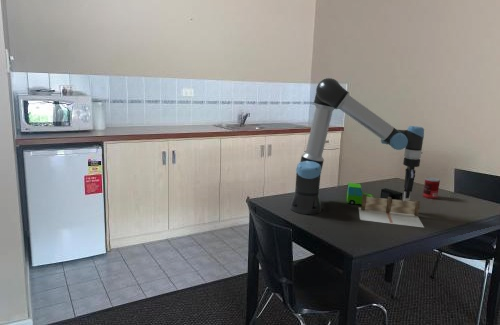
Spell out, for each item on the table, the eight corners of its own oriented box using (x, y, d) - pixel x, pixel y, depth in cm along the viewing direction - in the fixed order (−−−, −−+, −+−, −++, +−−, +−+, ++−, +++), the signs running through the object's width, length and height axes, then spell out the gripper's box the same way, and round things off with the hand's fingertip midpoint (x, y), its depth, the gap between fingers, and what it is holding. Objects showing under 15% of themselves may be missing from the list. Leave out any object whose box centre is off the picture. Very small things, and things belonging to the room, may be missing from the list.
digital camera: (378, 201, 214) (379, 189, 213) (383, 199, 218) (385, 187, 216) (395, 206, 207) (397, 194, 205) (401, 205, 210) (402, 192, 208)
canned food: (438, 196, 229) (440, 178, 227) (436, 200, 222) (438, 181, 220) (423, 194, 233) (426, 176, 230) (421, 197, 226) (424, 179, 224)
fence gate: (390, 212, 193) (392, 198, 191) (390, 211, 195) (392, 197, 193) (418, 216, 190) (420, 201, 189) (417, 214, 192) (419, 200, 190)
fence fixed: (361, 210, 196) (362, 194, 194) (360, 209, 198) (362, 193, 196) (389, 213, 193) (391, 198, 191) (389, 212, 195) (391, 197, 193)
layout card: (360, 220, 182) (360, 219, 182) (358, 208, 200) (358, 207, 200) (424, 228, 176) (424, 227, 176) (416, 215, 195) (416, 213, 194)
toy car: (373, 208, 202) (375, 189, 200) (347, 205, 205) (349, 187, 202) (371, 202, 212) (373, 184, 210) (346, 199, 214) (348, 182, 212)
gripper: (423, 161, 186) (416, 208, 191) (417, 156, 198) (411, 200, 203) (406, 159, 187) (399, 206, 192) (402, 154, 200) (396, 199, 205)
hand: (405, 203), depth 198 cm, fingers closed
